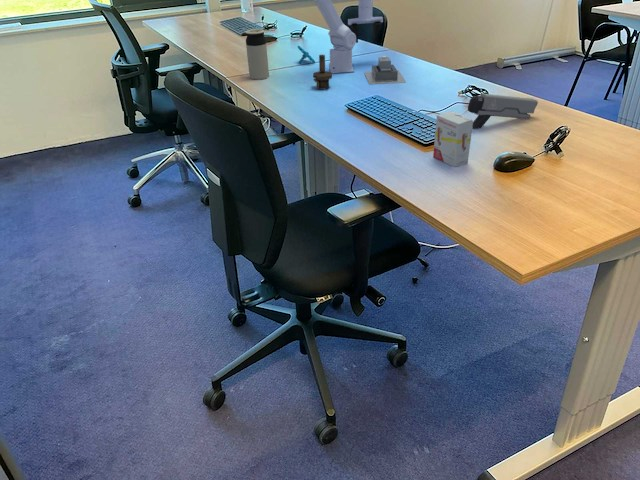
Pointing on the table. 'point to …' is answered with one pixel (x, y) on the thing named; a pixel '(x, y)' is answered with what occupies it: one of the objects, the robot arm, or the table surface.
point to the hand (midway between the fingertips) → (365, 41)
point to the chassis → (384, 76)
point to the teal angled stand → (305, 55)
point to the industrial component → (322, 74)
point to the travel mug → (257, 54)
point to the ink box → (452, 138)
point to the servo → (384, 64)
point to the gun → (499, 107)
